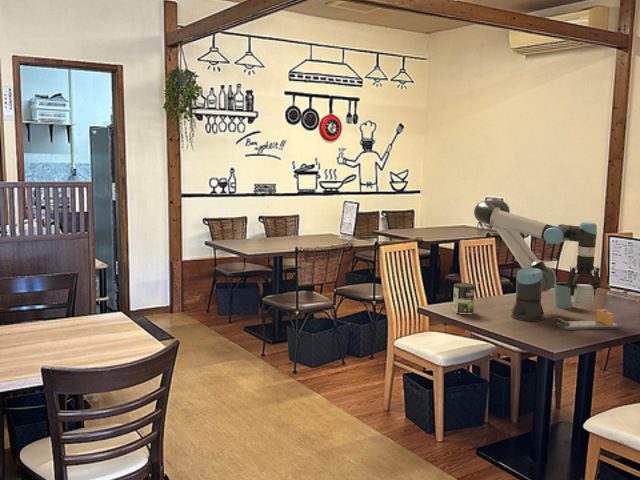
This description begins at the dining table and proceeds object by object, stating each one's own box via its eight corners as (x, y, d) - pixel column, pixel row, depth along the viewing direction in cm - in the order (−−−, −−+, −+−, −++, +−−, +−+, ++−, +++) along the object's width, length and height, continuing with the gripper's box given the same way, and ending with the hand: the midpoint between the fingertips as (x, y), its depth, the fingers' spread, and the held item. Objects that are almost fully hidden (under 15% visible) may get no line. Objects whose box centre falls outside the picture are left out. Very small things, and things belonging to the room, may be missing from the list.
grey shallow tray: (565, 330, 277) (565, 323, 277) (555, 324, 286) (555, 318, 286) (619, 329, 280) (620, 321, 279) (608, 323, 289) (609, 316, 288)
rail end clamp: (606, 324, 279) (607, 311, 278) (595, 319, 288) (596, 307, 287) (612, 324, 279) (613, 311, 278) (601, 319, 288) (602, 306, 287)
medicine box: (587, 301, 297) (589, 284, 296) (592, 304, 292) (593, 286, 291) (571, 301, 297) (573, 284, 295) (575, 303, 292) (577, 286, 291)
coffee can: (478, 312, 308) (479, 285, 306) (465, 316, 301) (466, 287, 300) (461, 308, 316) (462, 281, 314) (448, 311, 309) (449, 284, 307)
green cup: (570, 304, 326) (571, 282, 324) (576, 309, 316) (577, 286, 314) (550, 304, 327) (551, 282, 325) (555, 308, 317) (557, 286, 315)
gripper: (568, 256, 286) (564, 304, 290) (611, 256, 288) (606, 304, 292) (561, 253, 294) (557, 300, 297) (602, 254, 296) (598, 300, 299)
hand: (581, 302), depth 294 cm, fingers closed on medicine box, 8 cm apart
